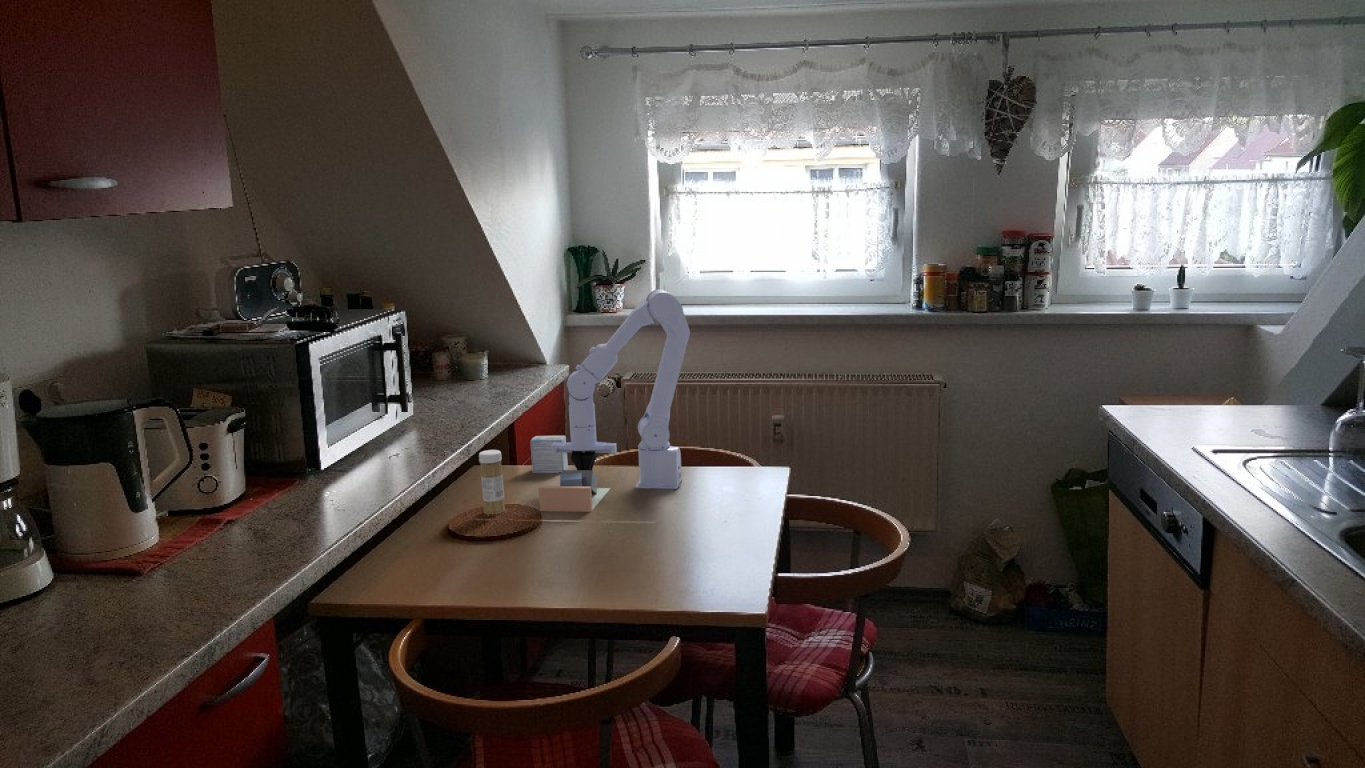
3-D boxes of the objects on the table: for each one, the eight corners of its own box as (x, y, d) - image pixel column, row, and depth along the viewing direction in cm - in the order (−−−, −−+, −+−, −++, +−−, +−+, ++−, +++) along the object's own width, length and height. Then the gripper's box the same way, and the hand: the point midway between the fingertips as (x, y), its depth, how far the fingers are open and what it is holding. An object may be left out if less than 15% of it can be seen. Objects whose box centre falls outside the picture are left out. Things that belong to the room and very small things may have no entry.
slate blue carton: (582, 499, 211) (581, 472, 210) (583, 506, 206) (581, 478, 205) (561, 501, 211) (560, 474, 210) (561, 507, 206) (560, 480, 205)
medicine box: (568, 469, 238) (566, 435, 237) (564, 474, 234) (562, 439, 232) (536, 470, 239) (534, 435, 237) (532, 475, 235) (529, 439, 233)
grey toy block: (598, 476, 216) (592, 470, 212) (596, 493, 215) (591, 488, 210) (567, 475, 218) (561, 470, 213) (566, 493, 216) (559, 488, 212)
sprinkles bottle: (498, 509, 208) (494, 448, 205) (509, 513, 204) (505, 451, 202) (479, 514, 205) (474, 452, 203) (490, 518, 202) (485, 455, 199)
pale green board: (610, 489, 219) (609, 466, 218) (591, 513, 203) (589, 488, 202) (563, 489, 221) (561, 466, 220) (540, 512, 205) (538, 487, 204)
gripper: (618, 421, 220) (621, 479, 222) (556, 421, 222) (560, 478, 225) (611, 428, 213) (614, 488, 215) (547, 427, 216) (551, 487, 218)
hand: (586, 483), depth 220 cm, fingers closed
